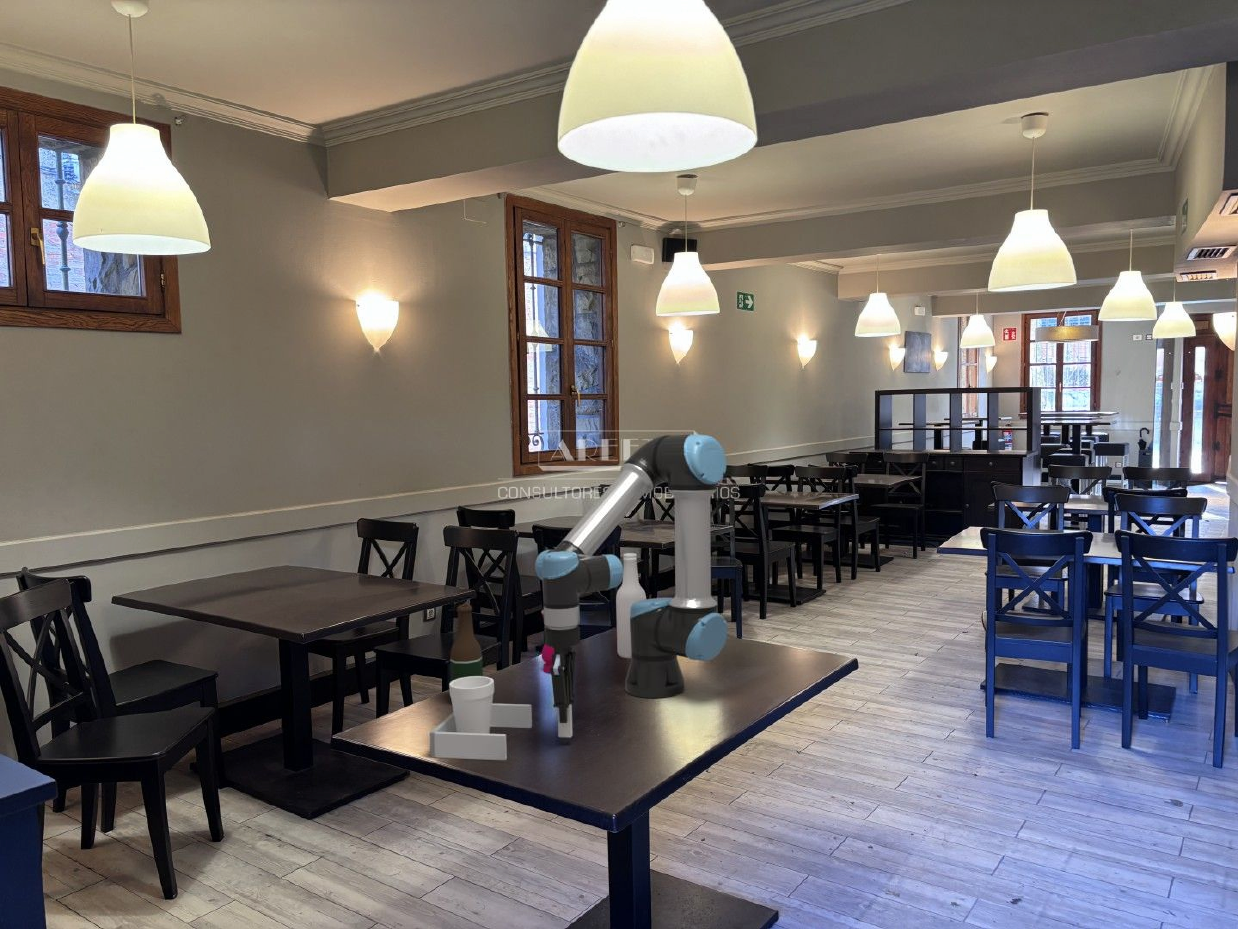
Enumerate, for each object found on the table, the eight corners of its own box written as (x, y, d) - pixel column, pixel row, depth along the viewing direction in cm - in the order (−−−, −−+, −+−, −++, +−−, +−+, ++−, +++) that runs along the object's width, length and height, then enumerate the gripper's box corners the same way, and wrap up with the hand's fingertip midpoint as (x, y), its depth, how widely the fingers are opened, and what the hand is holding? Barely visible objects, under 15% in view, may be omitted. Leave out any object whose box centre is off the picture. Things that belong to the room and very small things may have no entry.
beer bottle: (468, 708, 207) (465, 610, 206) (445, 703, 211) (441, 607, 210) (490, 699, 214) (486, 604, 213) (466, 695, 218) (463, 601, 217)
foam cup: (449, 737, 187) (447, 678, 187) (491, 732, 190) (489, 674, 190) (454, 752, 178) (452, 691, 178) (498, 747, 181) (496, 686, 181)
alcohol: (620, 660, 248) (618, 556, 247) (614, 652, 256) (612, 552, 255) (650, 657, 249) (648, 555, 248) (643, 650, 258) (641, 551, 257)
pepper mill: (564, 674, 234) (562, 602, 233) (538, 673, 236) (536, 601, 235) (570, 667, 241) (568, 596, 240) (546, 666, 243) (544, 596, 242)
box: (532, 726, 193) (531, 704, 193) (505, 760, 173) (504, 736, 173) (464, 724, 196) (463, 702, 196) (430, 757, 176) (429, 733, 176)
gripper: (552, 618, 188) (556, 724, 189) (536, 632, 175) (539, 746, 176) (586, 619, 186) (589, 726, 187) (571, 633, 174) (575, 748, 174)
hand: (565, 736), depth 182 cm, fingers closed
